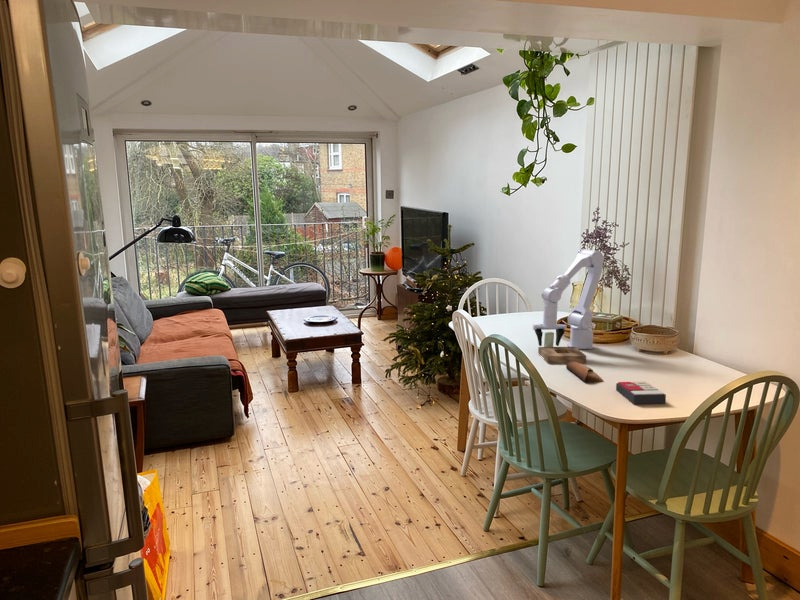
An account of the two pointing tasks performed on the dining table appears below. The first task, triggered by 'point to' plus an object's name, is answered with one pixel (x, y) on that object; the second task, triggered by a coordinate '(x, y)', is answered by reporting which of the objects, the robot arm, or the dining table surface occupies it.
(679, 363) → the dining table surface
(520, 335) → the dining table surface
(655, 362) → the dining table surface
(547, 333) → the peg
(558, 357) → the peg board
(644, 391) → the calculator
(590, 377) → the brown pointed cylinder
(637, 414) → the dining table surface
